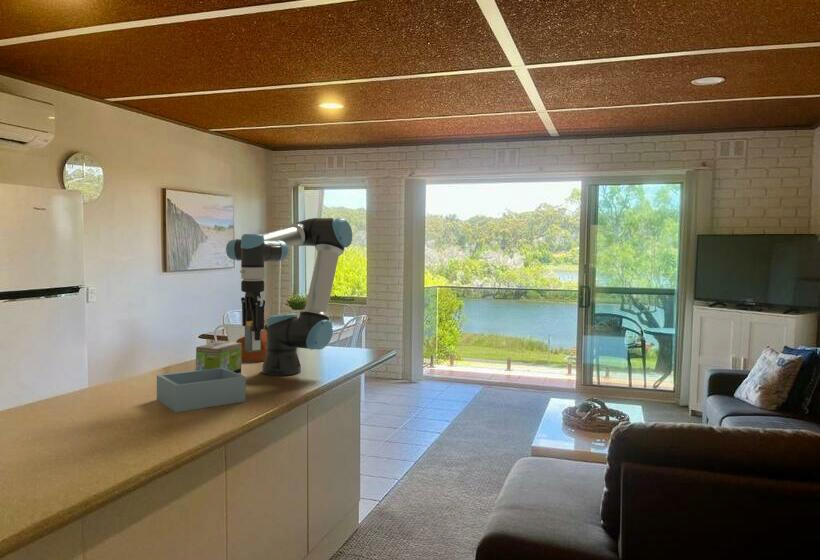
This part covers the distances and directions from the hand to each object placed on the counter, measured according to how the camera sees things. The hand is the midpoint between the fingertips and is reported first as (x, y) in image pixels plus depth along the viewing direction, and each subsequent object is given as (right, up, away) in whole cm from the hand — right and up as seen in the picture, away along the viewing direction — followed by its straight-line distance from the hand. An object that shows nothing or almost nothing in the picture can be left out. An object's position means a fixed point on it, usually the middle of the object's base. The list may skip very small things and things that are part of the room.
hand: (253, 348), depth 200 cm
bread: (-16, -12, +70) cm, 72 cm away
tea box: (-16, -15, +12) cm, 25 cm away
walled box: (-14, -16, -10) cm, 23 cm away
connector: (0, -1, 0) cm, 1 cm away
